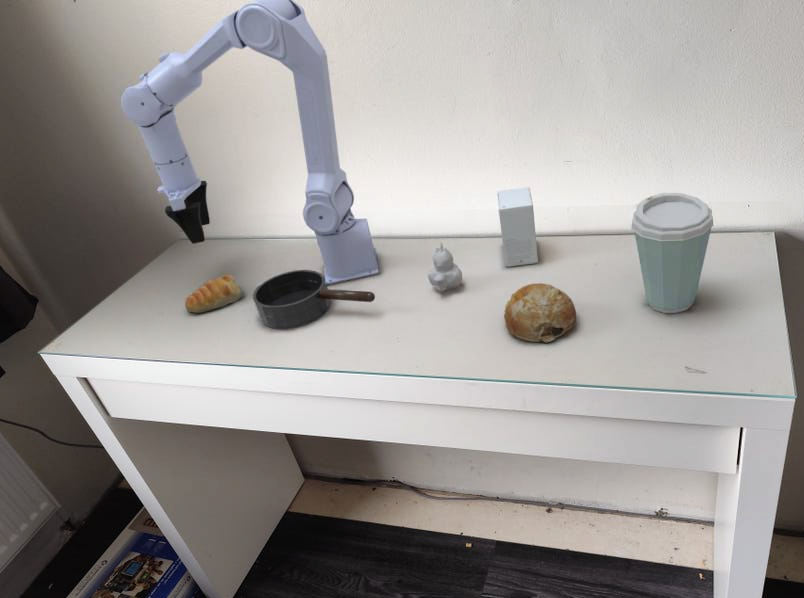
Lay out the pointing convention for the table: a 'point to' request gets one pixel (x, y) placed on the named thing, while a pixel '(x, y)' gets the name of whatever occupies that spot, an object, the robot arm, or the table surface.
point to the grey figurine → (444, 270)
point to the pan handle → (346, 295)
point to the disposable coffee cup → (671, 248)
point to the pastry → (213, 295)
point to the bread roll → (539, 313)
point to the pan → (291, 299)
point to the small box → (517, 226)
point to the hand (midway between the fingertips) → (201, 233)
